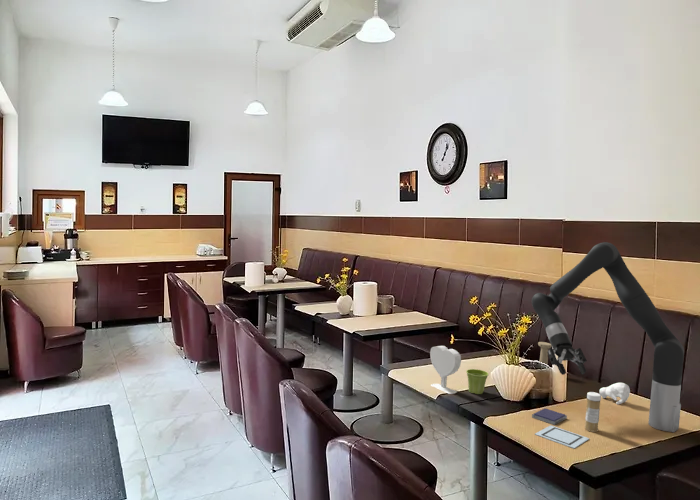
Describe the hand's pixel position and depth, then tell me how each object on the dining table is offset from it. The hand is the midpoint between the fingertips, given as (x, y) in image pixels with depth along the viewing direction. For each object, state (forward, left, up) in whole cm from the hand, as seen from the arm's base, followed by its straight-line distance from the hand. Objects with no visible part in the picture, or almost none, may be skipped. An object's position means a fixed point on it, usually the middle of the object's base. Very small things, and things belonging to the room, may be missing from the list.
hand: (574, 373), depth 203 cm
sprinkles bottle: (-10, +6, -17) cm, 21 cm away
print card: (-6, +21, -17) cm, 28 cm away
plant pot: (+39, +6, -17) cm, 43 cm away
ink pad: (+5, +8, -17) cm, 19 cm away
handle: (+34, -44, -17) cm, 58 cm away
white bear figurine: (-3, -33, -17) cm, 38 cm away
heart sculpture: (+50, +14, -17) cm, 55 cm away
